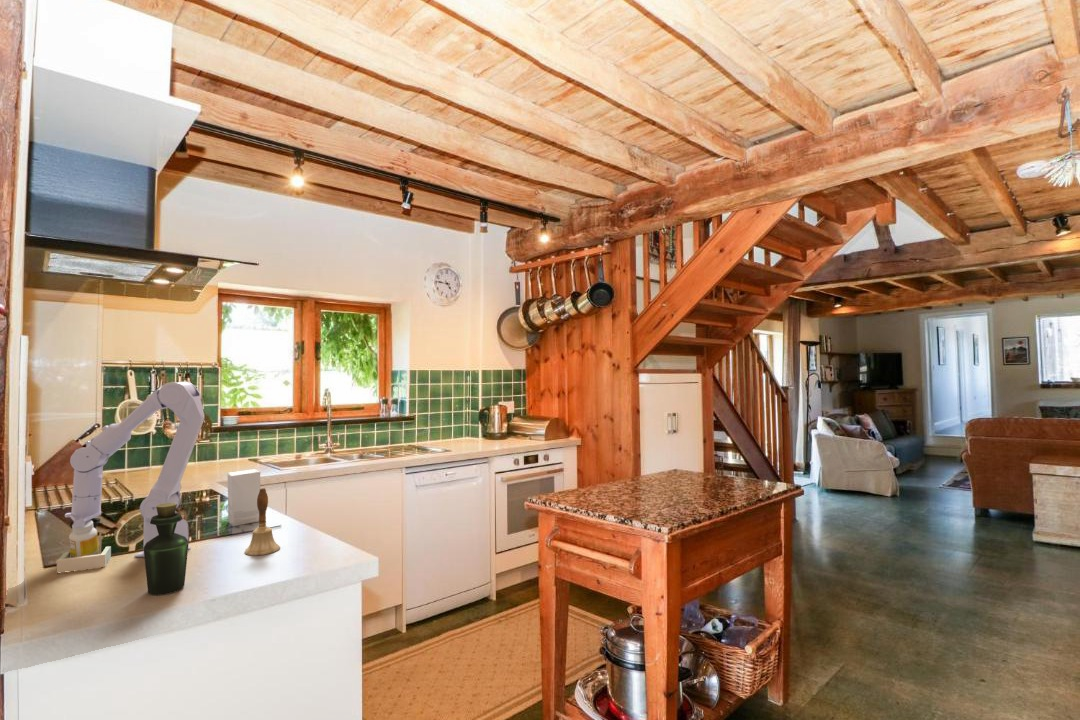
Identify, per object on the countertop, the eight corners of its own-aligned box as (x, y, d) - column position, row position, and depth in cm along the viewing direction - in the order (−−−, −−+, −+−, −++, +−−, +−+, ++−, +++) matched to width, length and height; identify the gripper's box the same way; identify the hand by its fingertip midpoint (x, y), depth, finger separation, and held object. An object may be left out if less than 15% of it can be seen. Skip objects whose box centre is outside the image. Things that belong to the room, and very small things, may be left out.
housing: (64, 564, 138) (64, 551, 138) (110, 558, 142) (110, 546, 142) (56, 573, 131) (56, 560, 131) (105, 567, 136) (105, 554, 136)
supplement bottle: (66, 565, 137) (62, 530, 135) (78, 552, 142) (75, 517, 140) (92, 564, 138) (89, 529, 136) (103, 551, 143) (100, 517, 141)
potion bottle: (194, 588, 122) (194, 504, 122) (149, 600, 116) (149, 511, 116) (181, 579, 127) (181, 498, 127) (138, 590, 121) (138, 505, 121)
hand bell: (240, 550, 148) (241, 488, 148) (274, 543, 153) (274, 484, 154) (249, 558, 142) (249, 493, 142) (284, 551, 147) (284, 489, 147)
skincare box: (256, 517, 181) (256, 468, 181) (261, 522, 176) (261, 471, 176) (226, 522, 175) (226, 471, 176) (231, 527, 170) (231, 474, 170)
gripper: (73, 489, 147) (70, 542, 146) (58, 502, 134) (54, 560, 133) (107, 488, 150) (104, 540, 150) (96, 500, 137) (92, 557, 137)
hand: (83, 549), depth 142 cm, fingers closed, pressing on supplement bottle
